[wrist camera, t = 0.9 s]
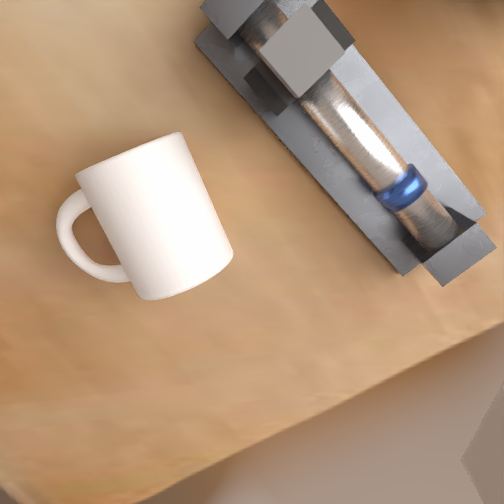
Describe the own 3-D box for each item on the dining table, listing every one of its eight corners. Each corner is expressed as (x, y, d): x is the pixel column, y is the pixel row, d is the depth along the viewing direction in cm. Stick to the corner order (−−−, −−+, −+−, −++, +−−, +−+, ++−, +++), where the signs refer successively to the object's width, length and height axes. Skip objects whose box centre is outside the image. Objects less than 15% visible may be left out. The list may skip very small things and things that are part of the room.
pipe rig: (195, 43, 31) (178, 30, 25) (276, -47, 28) (277, -82, 23) (400, 272, 36) (421, 302, 30) (481, 210, 33) (520, 230, 28)
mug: (190, 127, 33) (164, 134, 25) (238, 241, 36) (228, 277, 28) (59, 182, 35) (-1, 204, 27) (115, 286, 38) (75, 331, 30)
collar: (248, 83, 30) (237, 73, 21) (312, 18, 29) (329, -24, 19) (276, 114, 31) (277, 119, 21) (340, 53, 29) (370, 28, 20)
